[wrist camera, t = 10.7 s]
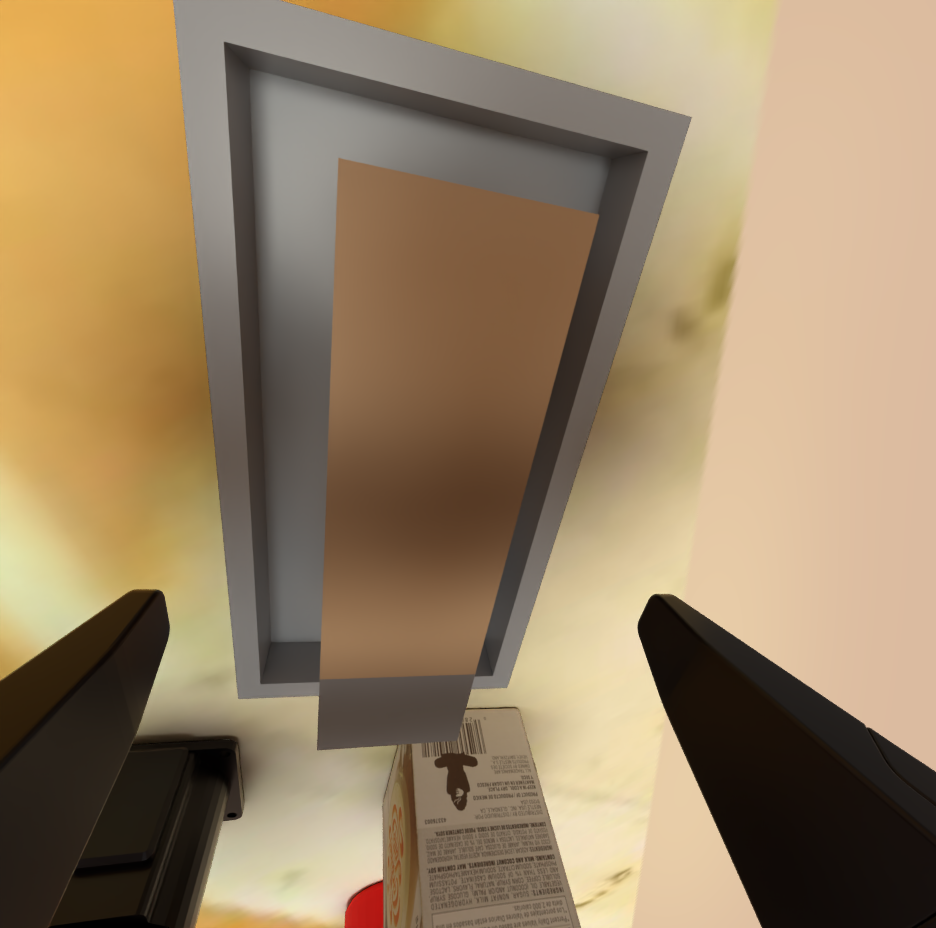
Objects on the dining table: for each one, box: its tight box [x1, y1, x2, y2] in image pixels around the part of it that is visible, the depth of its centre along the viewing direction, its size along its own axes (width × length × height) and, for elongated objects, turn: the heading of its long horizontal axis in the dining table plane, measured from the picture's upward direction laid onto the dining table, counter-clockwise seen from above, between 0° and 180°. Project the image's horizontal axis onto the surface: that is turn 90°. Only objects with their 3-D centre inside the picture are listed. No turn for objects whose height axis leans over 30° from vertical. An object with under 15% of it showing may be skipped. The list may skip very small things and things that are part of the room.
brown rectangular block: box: [317, 158, 599, 750], centre depth 13 cm, size 14×4×6 cm, turn 170°
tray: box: [173, 0, 692, 699], centre depth 15 cm, size 20×11×2 cm, turn 170°
